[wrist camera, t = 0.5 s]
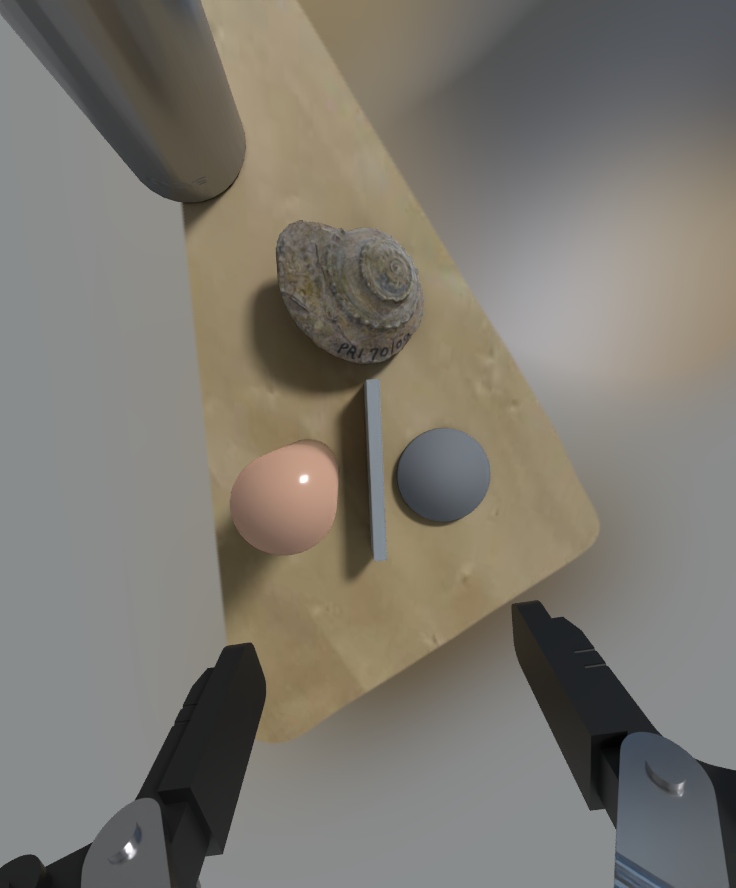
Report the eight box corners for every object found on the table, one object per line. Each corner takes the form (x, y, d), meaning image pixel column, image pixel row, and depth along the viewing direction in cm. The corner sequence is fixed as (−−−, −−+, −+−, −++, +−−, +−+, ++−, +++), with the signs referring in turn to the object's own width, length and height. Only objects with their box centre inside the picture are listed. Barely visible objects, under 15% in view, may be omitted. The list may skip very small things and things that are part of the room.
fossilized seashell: (371, 395, 27) (361, 345, 21) (272, 335, 30) (235, 274, 23) (443, 298, 29) (454, 224, 22) (344, 250, 32) (328, 171, 25)
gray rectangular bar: (363, 384, 29) (366, 379, 26) (375, 383, 29) (379, 379, 26) (371, 547, 30) (374, 561, 27) (382, 546, 30) (386, 560, 27)
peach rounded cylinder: (275, 440, 28) (226, 454, 17) (337, 437, 29) (334, 449, 17) (278, 502, 29) (233, 559, 17) (340, 498, 29) (339, 551, 17)
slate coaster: (395, 430, 29) (396, 430, 29) (486, 426, 30) (489, 426, 29) (398, 522, 30) (399, 524, 29) (488, 516, 30) (491, 518, 30)
